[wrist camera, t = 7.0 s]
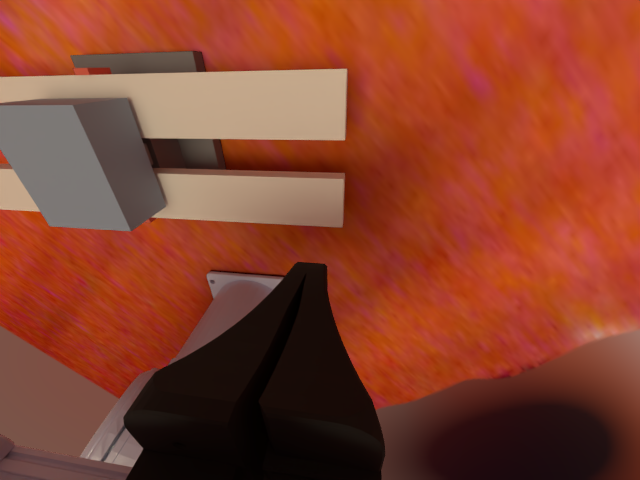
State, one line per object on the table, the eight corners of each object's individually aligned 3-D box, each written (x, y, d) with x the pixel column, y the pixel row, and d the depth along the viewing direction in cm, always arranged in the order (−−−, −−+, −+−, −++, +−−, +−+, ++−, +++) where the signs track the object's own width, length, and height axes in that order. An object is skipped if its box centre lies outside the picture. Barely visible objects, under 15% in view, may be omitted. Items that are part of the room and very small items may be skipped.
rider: (138, 96, 14) (72, 104, 11) (173, 201, 17) (131, 231, 14) (56, 97, 15) (-28, 105, 12) (105, 198, 18) (50, 226, 15)
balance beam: (352, 46, 15) (347, 40, 11) (346, 209, 20) (341, 243, 16) (-31, 59, 18) (-138, 58, 15) (51, 196, 24) (-11, 221, 20)
